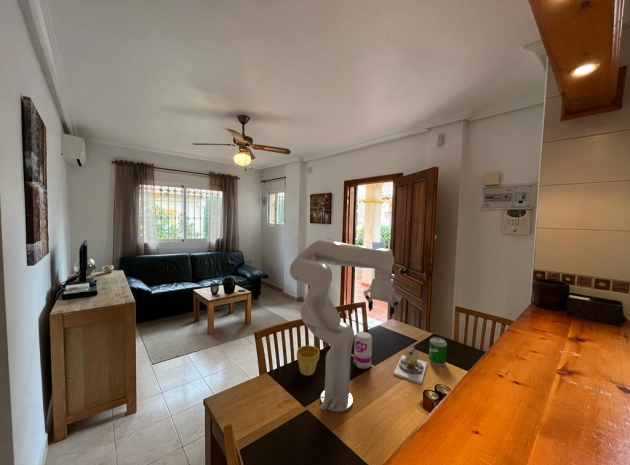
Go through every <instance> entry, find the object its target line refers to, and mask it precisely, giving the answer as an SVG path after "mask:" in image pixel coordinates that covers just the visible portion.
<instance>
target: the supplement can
mask: <svg viewBox="0 0 630 465" xmlns="http://www.w3.org/2000/svg"><path fill="white" fill-rule="evenodd" d="M372 350H373V337H372V335H371V333H369V332H366V331H358V332H357V333H356V334H355V335H354V353H353V354H354V355H353V356H354V357H353V363H354V365H355V367H357V368H359V369H362V370H364V369H365V370H366V369H369V368H370V367H372V353H373V351H372Z"/></svg>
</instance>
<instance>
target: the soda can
mask: <svg viewBox="0 0 630 465" xmlns="http://www.w3.org/2000/svg"><path fill="white" fill-rule="evenodd" d="M447 345H448V344H447V341H446V340H445V339H444V338H442V337H439V336H433V337H432V338H430V339H429V349H428V350H429V353H428V360H429V362H430V363H431V364H432V365H434V366H436V367H443V366H444V365H445V364H446V363H447V362H446V360H447V348H448V347H447Z"/></svg>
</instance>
